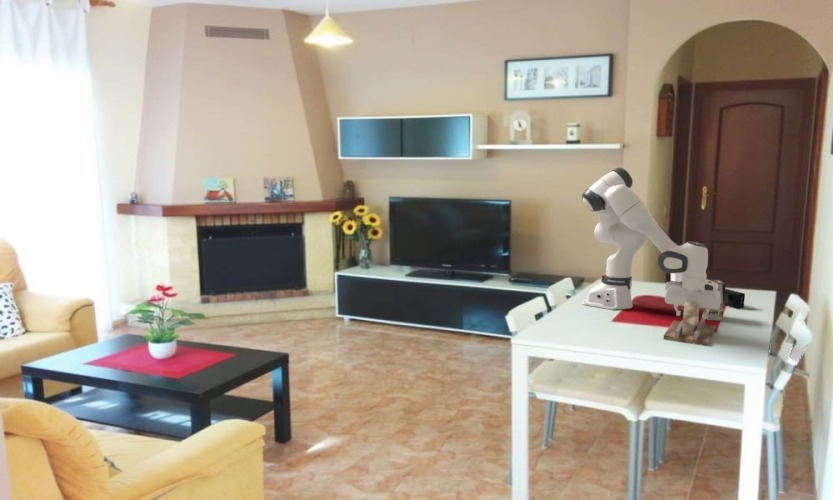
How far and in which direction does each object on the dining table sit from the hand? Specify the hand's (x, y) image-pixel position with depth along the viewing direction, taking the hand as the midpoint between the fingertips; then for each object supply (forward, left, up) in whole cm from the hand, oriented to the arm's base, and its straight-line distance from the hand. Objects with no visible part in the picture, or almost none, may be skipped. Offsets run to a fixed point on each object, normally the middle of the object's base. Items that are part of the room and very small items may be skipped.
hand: (691, 317), depth 263 cm
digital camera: (+10, +57, -7) cm, 59 cm away
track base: (0, 0, -7) cm, 7 cm away
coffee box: (+5, +31, -7) cm, 32 cm away
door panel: (0, 0, -6) cm, 6 cm away
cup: (-17, +82, -7) cm, 84 cm away
